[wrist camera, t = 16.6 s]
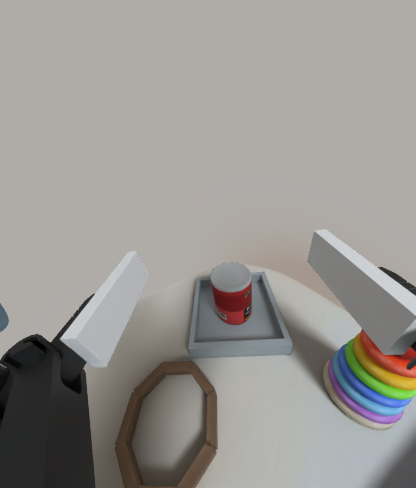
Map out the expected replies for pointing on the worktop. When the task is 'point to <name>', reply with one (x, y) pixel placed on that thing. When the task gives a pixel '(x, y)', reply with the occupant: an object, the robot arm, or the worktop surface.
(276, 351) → the tray
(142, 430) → the worktop surface
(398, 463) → the worktop surface
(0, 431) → the robot arm
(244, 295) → the canned food
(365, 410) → the stacking toy
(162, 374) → the holder ring
